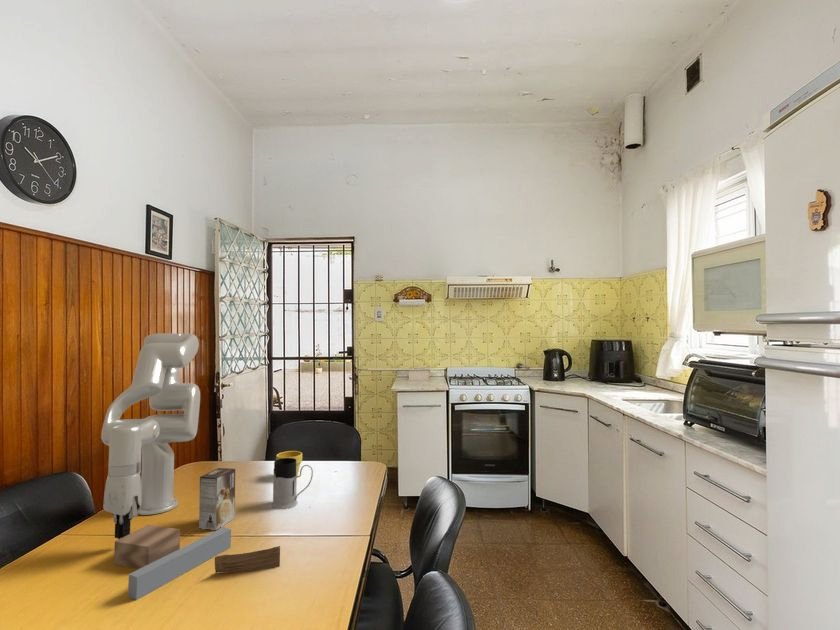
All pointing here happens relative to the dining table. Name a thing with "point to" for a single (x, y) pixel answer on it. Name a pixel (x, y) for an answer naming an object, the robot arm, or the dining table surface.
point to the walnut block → (146, 546)
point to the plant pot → (291, 454)
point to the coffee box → (217, 498)
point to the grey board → (177, 563)
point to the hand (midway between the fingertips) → (122, 536)
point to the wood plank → (248, 561)
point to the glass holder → (286, 483)
